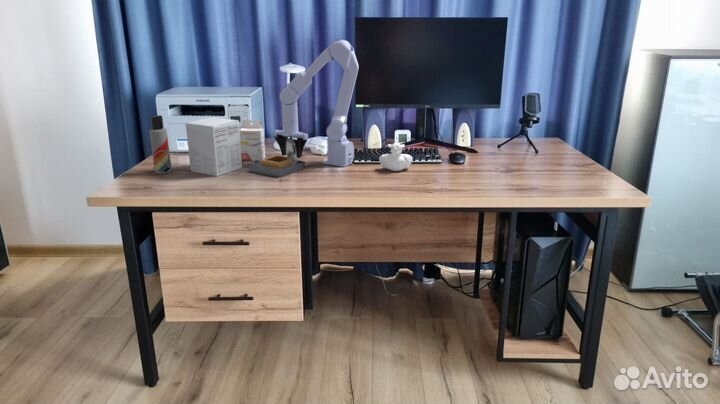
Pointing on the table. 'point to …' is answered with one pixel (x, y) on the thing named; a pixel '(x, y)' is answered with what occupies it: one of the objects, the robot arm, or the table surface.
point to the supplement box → (214, 145)
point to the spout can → (291, 148)
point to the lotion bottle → (160, 146)
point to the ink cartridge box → (252, 140)
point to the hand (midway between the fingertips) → (291, 156)
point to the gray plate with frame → (277, 166)
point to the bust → (395, 158)
